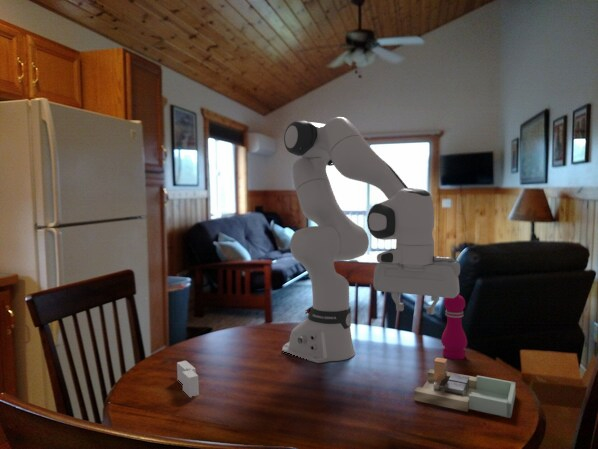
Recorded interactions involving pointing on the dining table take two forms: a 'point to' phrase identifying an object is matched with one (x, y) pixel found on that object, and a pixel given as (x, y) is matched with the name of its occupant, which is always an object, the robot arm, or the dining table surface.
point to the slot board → (444, 393)
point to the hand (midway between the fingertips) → (414, 312)
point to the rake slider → (440, 374)
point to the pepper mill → (454, 329)
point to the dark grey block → (460, 380)
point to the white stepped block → (188, 378)
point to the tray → (493, 396)
